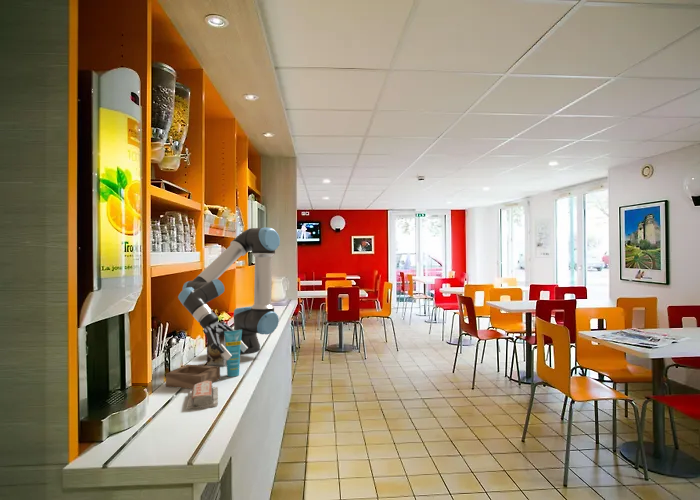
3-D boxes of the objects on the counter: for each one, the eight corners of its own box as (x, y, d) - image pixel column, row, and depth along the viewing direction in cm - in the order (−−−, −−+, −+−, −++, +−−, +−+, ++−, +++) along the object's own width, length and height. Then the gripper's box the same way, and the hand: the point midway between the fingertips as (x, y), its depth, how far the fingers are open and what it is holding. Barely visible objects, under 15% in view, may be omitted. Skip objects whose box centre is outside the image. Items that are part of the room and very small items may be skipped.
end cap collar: (187, 376, 176) (187, 364, 176) (220, 378, 172) (219, 366, 172) (165, 386, 162) (165, 373, 162) (201, 389, 159) (200, 376, 159)
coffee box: (206, 365, 193) (206, 330, 193) (214, 361, 199) (213, 327, 199) (224, 366, 190) (223, 331, 190) (231, 362, 197) (231, 328, 197)
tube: (226, 378, 172) (226, 332, 172) (223, 375, 176) (222, 330, 176) (243, 375, 176) (243, 330, 176) (240, 372, 180) (239, 328, 180)
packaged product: (217, 393, 142) (186, 397, 138) (218, 407, 142) (186, 411, 139) (217, 378, 159) (189, 380, 156) (217, 390, 159) (189, 393, 156)
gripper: (216, 318, 192) (246, 352, 188) (182, 328, 168) (216, 368, 164) (226, 307, 191) (257, 341, 187) (194, 316, 166) (228, 355, 163)
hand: (237, 354), depth 176 cm, fingers open, 13 cm apart
